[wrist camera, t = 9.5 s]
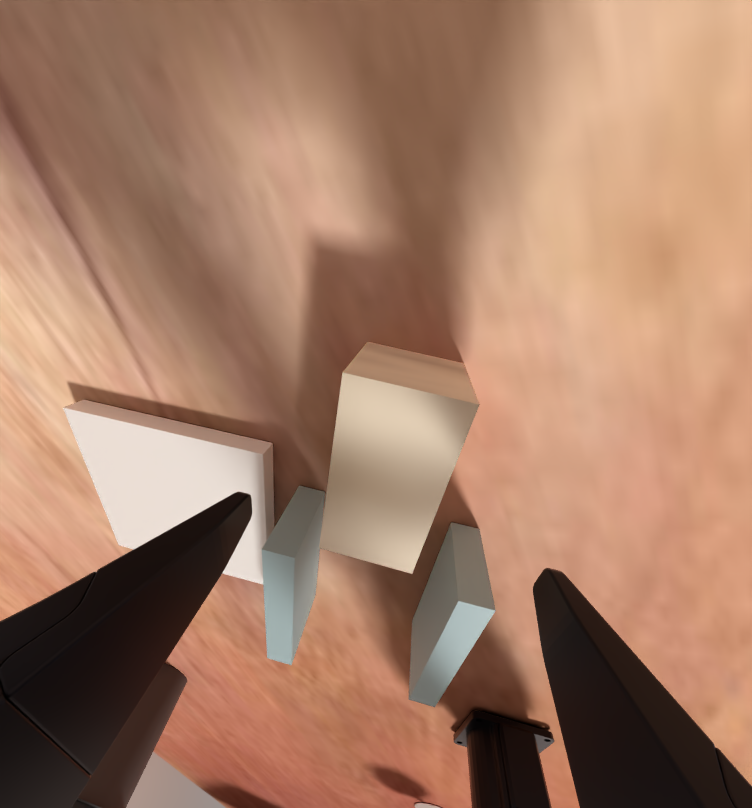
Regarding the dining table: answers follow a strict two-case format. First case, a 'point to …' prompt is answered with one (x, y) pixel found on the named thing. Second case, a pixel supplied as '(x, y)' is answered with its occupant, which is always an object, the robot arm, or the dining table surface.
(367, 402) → the maple block
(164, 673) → the coffee cup
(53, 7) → the dining table surface
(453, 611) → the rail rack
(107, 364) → the dining table surface
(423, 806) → the wineglass
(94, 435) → the ceramic tile
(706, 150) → the dining table surface
